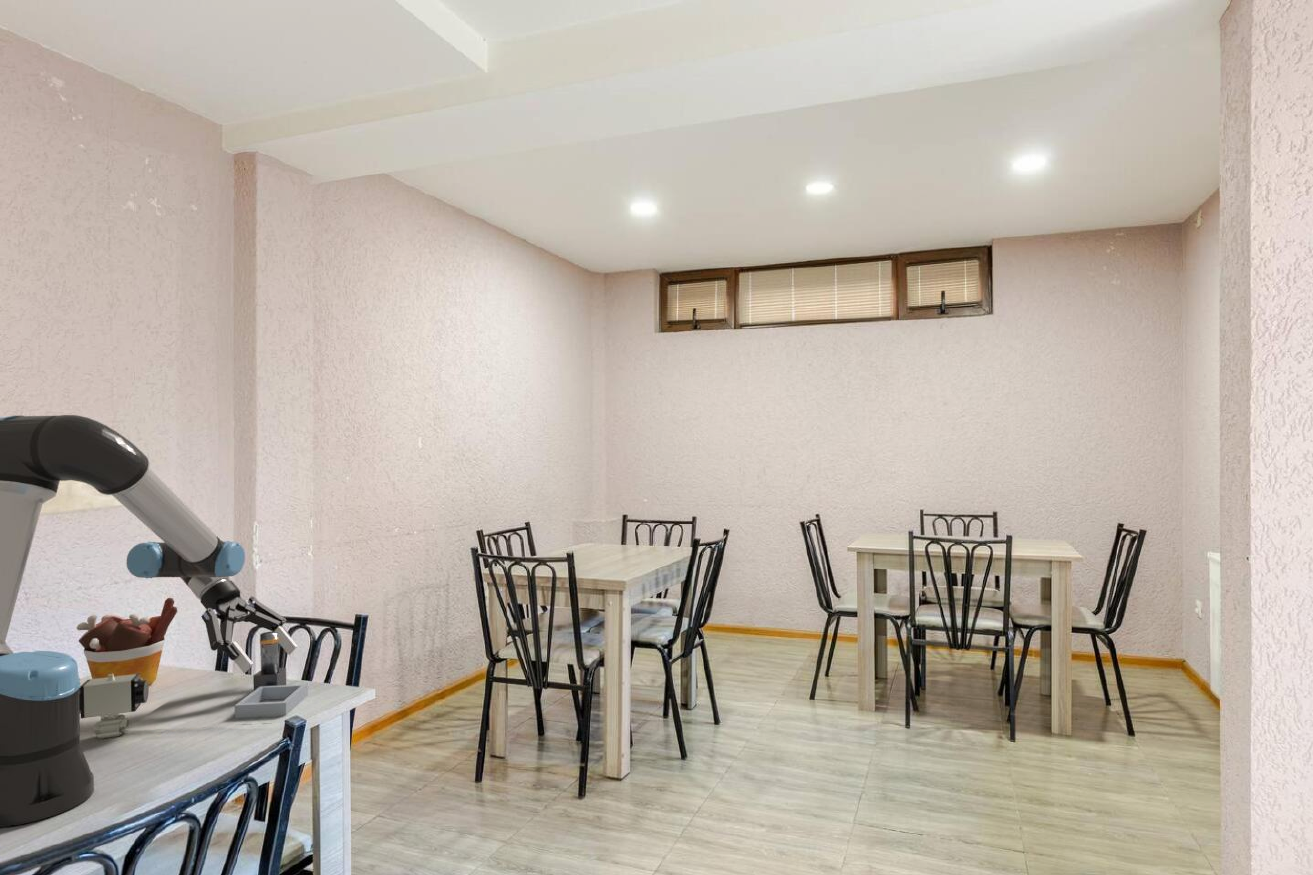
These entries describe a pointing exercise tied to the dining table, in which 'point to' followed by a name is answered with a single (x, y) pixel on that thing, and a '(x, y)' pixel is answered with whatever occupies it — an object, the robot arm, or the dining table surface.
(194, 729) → the dining table surface
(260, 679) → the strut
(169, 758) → the dining table surface
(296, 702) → the bin
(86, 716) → the pneumatic valve
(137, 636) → the bucket of meat
